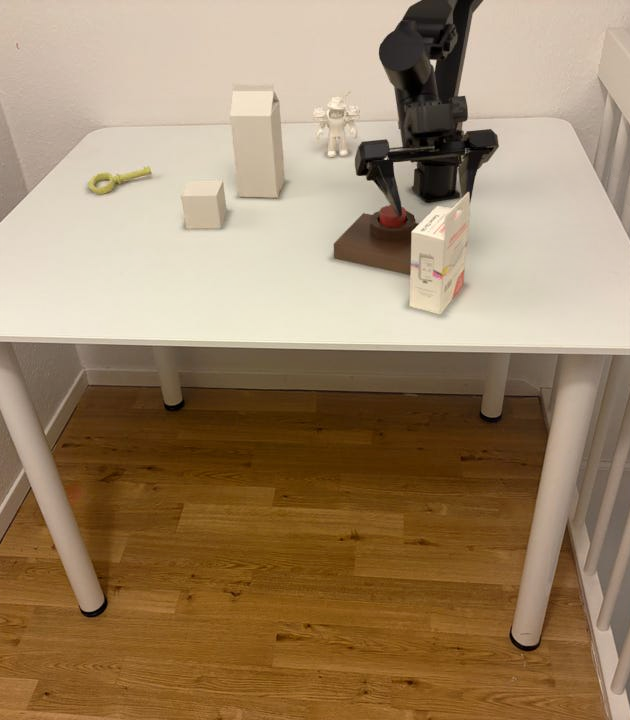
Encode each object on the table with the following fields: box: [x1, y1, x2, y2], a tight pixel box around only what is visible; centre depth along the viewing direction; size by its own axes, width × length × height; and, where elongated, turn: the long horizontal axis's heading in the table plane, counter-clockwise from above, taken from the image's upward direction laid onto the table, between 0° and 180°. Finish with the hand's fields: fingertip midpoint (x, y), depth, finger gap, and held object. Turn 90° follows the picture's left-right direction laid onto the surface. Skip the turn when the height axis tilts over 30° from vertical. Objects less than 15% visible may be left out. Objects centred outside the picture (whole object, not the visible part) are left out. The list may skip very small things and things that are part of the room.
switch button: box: [379, 204, 407, 226], centre depth 111 cm, size 4×4×2 cm
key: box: [88, 165, 152, 195], centre depth 140 cm, size 7×12×2 cm, turn 123°
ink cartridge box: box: [409, 192, 471, 315], centre depth 97 cm, size 9×5×15 cm, turn 148°
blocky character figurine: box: [312, 90, 360, 158], centre depth 141 cm, size 9×4×12 cm, turn 89°
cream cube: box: [180, 179, 228, 229], centre depth 123 cm, size 6×6×6 cm
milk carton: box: [229, 83, 286, 199], centre depth 127 cm, size 7×7×19 cm
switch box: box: [333, 210, 420, 276], centre depth 112 cm, size 11×13×4 cm
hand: (433, 212), depth 98 cm, fingers open, 9 cm apart
